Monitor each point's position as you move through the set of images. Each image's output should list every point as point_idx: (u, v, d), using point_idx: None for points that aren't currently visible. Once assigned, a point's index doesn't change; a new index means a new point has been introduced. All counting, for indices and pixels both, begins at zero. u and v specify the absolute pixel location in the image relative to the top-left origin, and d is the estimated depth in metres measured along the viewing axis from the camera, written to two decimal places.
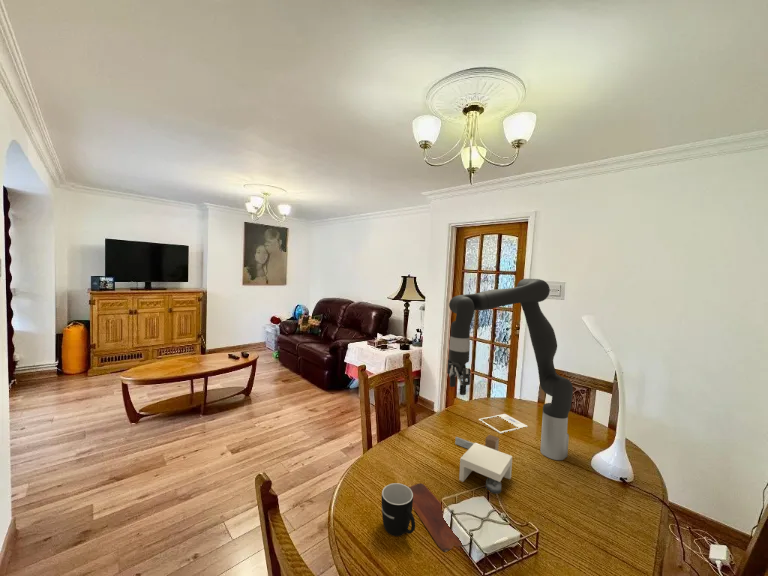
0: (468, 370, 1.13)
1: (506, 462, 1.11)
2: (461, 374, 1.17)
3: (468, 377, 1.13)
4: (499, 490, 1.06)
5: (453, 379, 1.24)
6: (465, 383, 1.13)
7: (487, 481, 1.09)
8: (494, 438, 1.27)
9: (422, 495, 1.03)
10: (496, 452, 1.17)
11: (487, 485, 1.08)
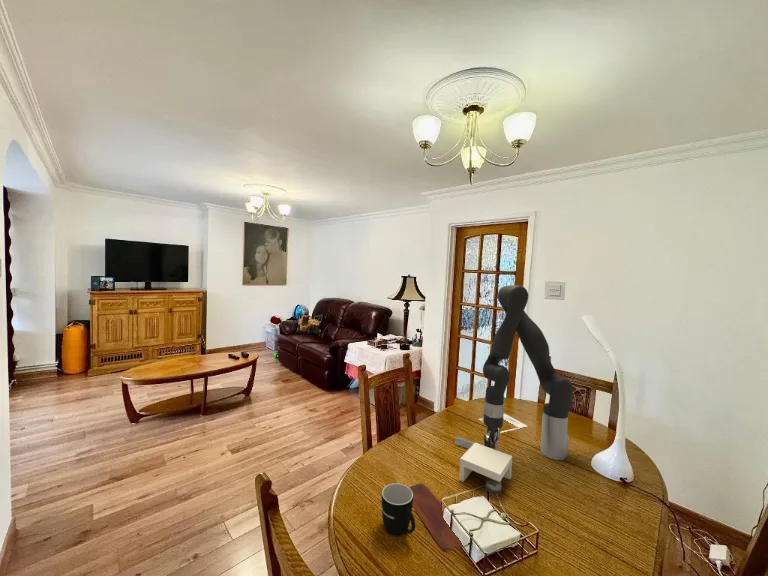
0: None
1: (506, 462, 1.11)
2: None
3: None
4: (499, 490, 1.06)
5: None
6: None
7: (487, 481, 1.09)
8: None
9: (422, 495, 1.03)
10: (496, 452, 1.17)
11: (487, 485, 1.08)
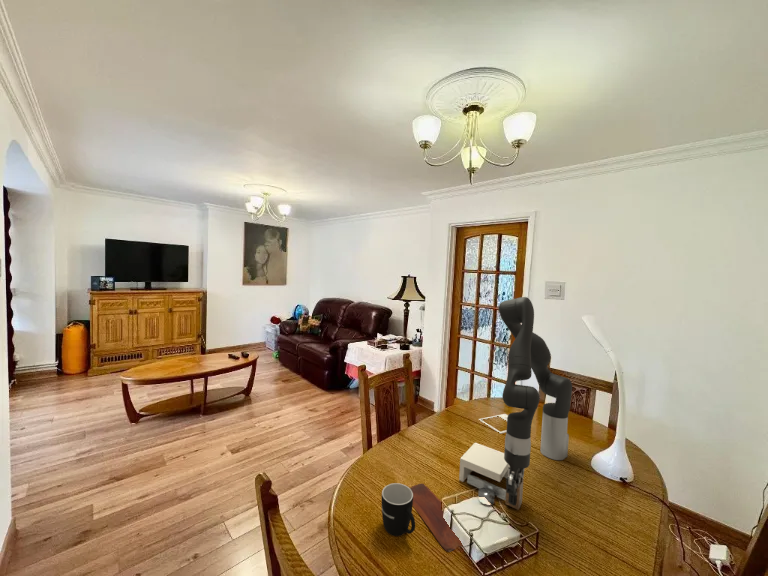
0: None
1: (506, 462, 1.11)
2: None
3: None
4: None
5: None
6: None
7: (482, 495, 1.02)
8: None
9: (423, 495, 1.03)
10: (496, 452, 1.17)
11: None
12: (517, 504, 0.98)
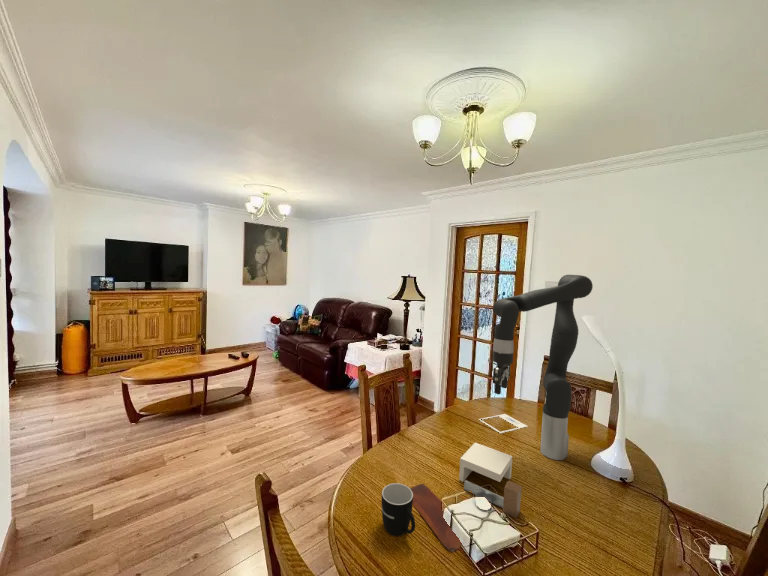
0: None
1: (506, 462, 1.11)
2: None
3: None
4: None
5: None
6: None
7: None
8: (515, 487, 0.98)
9: (424, 496, 1.03)
10: (496, 452, 1.17)
11: None
12: (515, 512, 0.96)
